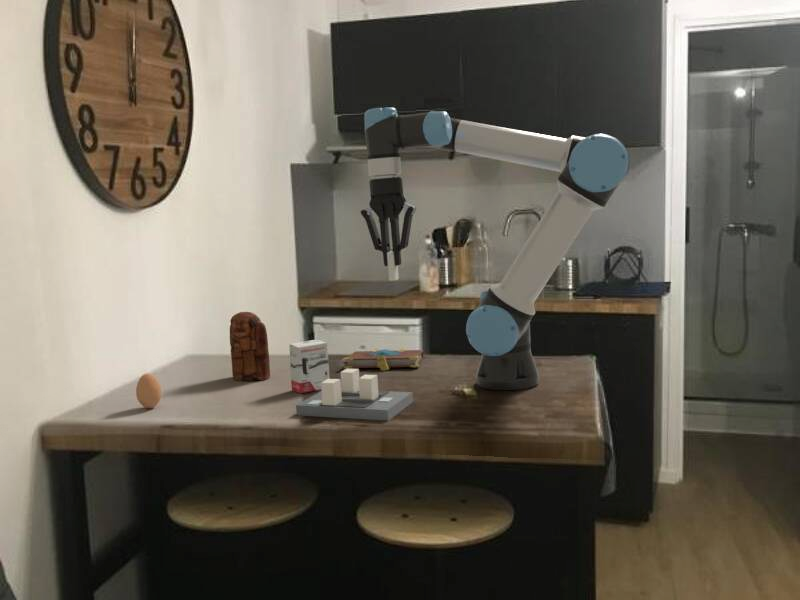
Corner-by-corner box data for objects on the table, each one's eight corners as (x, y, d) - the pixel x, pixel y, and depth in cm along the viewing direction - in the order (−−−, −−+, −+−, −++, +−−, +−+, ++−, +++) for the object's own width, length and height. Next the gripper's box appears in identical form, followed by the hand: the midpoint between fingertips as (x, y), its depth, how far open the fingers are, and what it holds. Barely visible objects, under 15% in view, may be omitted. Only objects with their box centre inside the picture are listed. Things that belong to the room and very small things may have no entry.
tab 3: (378, 396, 190) (377, 375, 190) (372, 400, 187) (370, 378, 186) (366, 396, 191) (365, 374, 191) (359, 400, 188) (358, 378, 187)
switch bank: (413, 402, 194) (412, 389, 193) (388, 420, 180) (387, 406, 180) (326, 397, 202) (325, 385, 201) (296, 415, 188) (295, 402, 188)
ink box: (300, 394, 207) (297, 346, 205) (291, 390, 211) (288, 343, 209) (331, 387, 212) (328, 341, 210) (321, 384, 216) (318, 338, 214)
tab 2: (360, 389, 197) (358, 369, 197) (353, 393, 194) (352, 372, 193) (348, 389, 199) (347, 368, 198) (341, 393, 195) (340, 372, 195)
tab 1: (341, 401, 188) (340, 379, 188) (334, 405, 185) (333, 383, 184) (329, 400, 189) (328, 378, 189) (322, 404, 186) (320, 382, 185)
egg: (142, 405, 204) (139, 371, 203) (166, 404, 204) (162, 370, 203) (134, 411, 199) (130, 377, 198) (158, 410, 199) (155, 375, 197)
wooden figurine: (225, 381, 225) (219, 314, 223) (236, 375, 231) (231, 310, 229) (265, 381, 222) (259, 314, 219) (275, 376, 228) (270, 310, 225)
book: (340, 363, 245) (339, 346, 245) (425, 361, 241) (424, 344, 241) (327, 373, 229) (326, 355, 229) (417, 372, 225) (417, 353, 225)
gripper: (417, 174, 195) (425, 276, 198) (364, 179, 199) (372, 279, 202) (408, 175, 188) (416, 280, 191) (353, 180, 192) (362, 283, 195)
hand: (394, 279), depth 196 cm, fingers closed
